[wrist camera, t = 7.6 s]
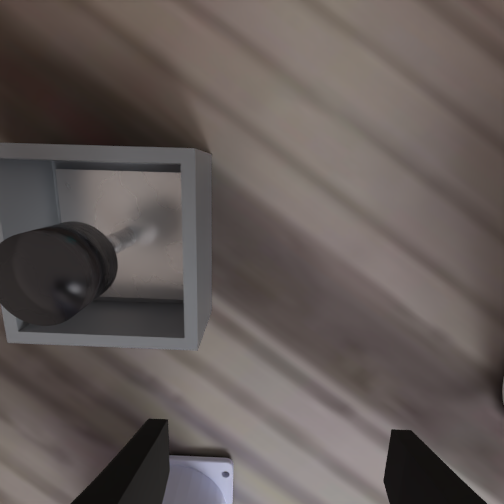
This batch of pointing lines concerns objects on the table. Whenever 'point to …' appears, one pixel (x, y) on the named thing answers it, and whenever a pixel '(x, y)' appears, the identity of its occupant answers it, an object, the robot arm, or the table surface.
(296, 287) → the table surface
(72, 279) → the plunger
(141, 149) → the press housing
